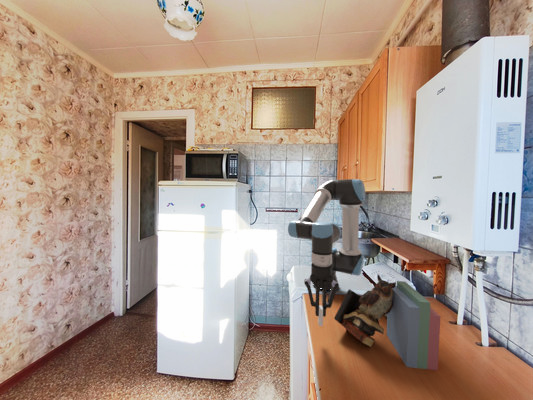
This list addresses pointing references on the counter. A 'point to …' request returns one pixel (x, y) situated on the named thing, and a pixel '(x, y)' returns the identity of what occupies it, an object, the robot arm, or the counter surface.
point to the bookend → (366, 311)
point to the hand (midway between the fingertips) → (320, 323)
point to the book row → (413, 328)
